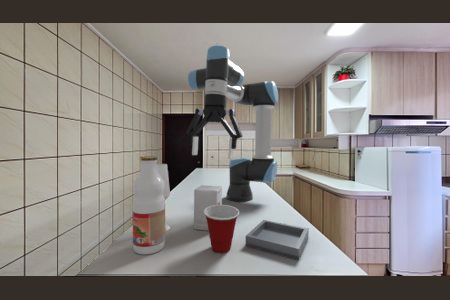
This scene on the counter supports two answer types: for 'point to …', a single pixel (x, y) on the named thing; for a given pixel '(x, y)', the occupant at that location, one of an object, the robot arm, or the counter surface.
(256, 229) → the tray
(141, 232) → the fruit juice
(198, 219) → the supplement box
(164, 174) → the champagne flute
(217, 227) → the plastic cup
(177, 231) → the counter surface
